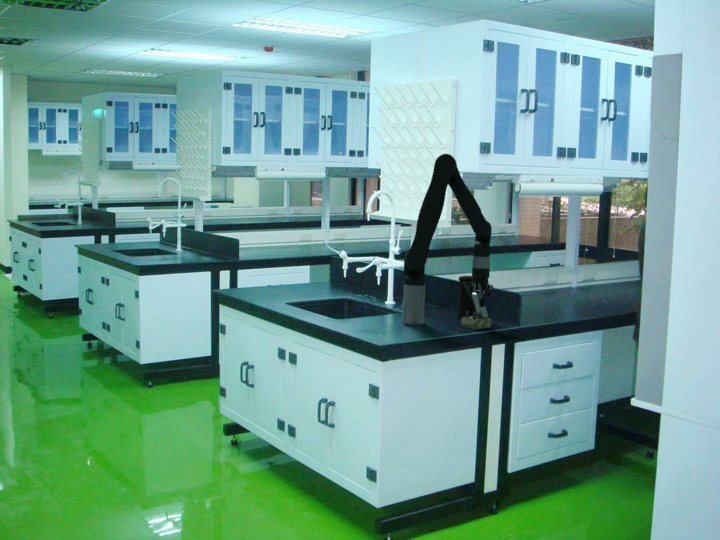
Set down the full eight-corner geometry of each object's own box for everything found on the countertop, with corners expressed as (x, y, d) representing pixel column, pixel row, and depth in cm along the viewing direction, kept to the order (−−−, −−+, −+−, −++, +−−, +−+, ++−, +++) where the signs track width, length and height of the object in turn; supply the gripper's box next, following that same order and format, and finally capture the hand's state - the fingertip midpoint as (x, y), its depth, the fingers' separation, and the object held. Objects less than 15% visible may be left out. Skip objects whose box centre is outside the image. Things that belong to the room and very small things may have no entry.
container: (466, 321, 340) (468, 277, 338) (453, 318, 347) (454, 275, 345) (480, 319, 345) (482, 276, 343) (466, 316, 352) (468, 274, 350)
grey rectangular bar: (483, 319, 327) (476, 294, 323) (478, 318, 329) (471, 293, 325) (488, 316, 328) (481, 291, 324) (483, 315, 331) (476, 290, 327)
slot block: (474, 329, 321) (475, 313, 320) (461, 326, 327) (462, 310, 326) (491, 327, 326) (491, 311, 326) (478, 324, 333) (478, 308, 332)
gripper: (499, 268, 321) (497, 308, 323) (475, 264, 332) (474, 303, 334) (486, 268, 317) (484, 309, 319) (463, 265, 328) (461, 304, 330)
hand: (479, 306), depth 326 cm, fingers closed on grey rectangular bar, 3 cm apart
